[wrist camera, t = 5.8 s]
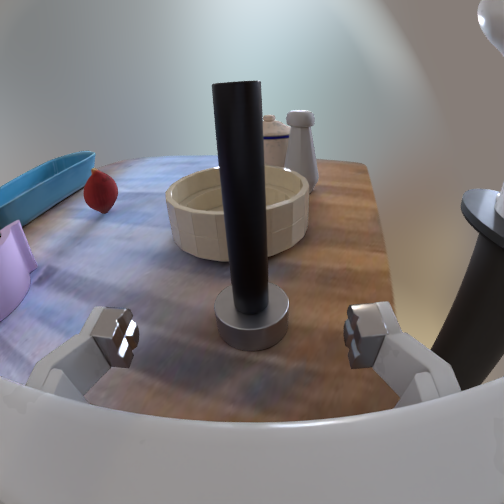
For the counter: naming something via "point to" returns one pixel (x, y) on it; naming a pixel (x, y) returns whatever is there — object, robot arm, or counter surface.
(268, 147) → the teacup with lid
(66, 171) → the casserole dish
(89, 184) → the onion
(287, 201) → the bowl
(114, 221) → the counter surface
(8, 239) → the clip
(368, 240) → the counter surface
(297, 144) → the salt shaker
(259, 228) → the black tall cylinder post
